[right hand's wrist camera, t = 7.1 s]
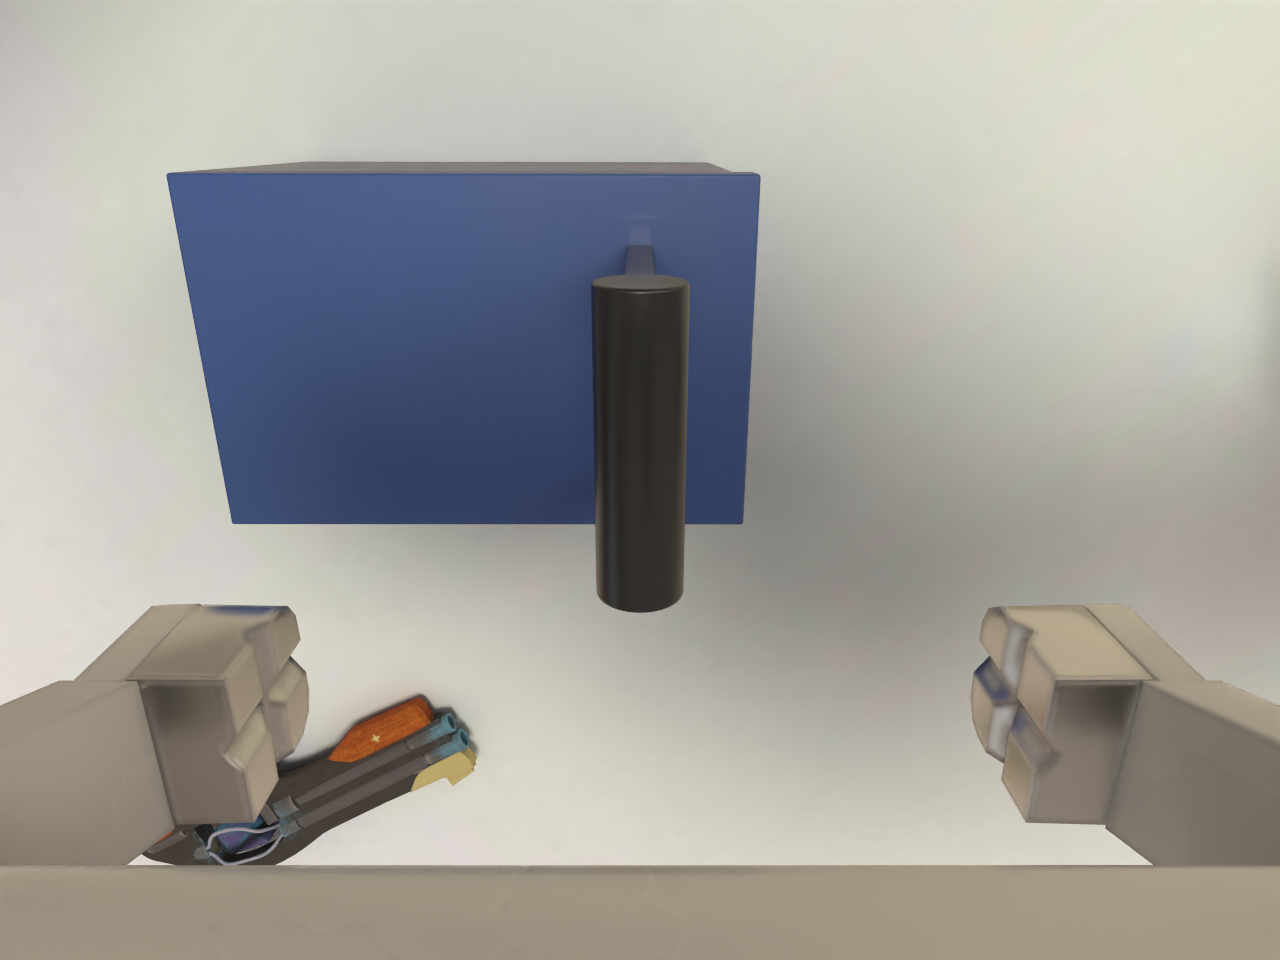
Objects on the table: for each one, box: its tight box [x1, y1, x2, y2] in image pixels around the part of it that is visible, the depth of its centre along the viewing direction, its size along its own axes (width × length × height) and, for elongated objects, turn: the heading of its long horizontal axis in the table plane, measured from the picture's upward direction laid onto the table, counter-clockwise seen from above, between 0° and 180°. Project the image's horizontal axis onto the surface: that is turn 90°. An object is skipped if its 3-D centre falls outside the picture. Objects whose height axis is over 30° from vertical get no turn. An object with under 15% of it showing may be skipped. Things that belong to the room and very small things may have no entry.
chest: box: [199, 162, 730, 172], centre depth 29 cm, size 15×10×9 cm
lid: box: [167, 171, 760, 613], centre depth 21 cm, size 15×10×9 cm, turn 90°
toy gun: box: [142, 698, 477, 865], centre depth 40 cm, size 3×19×10 cm
